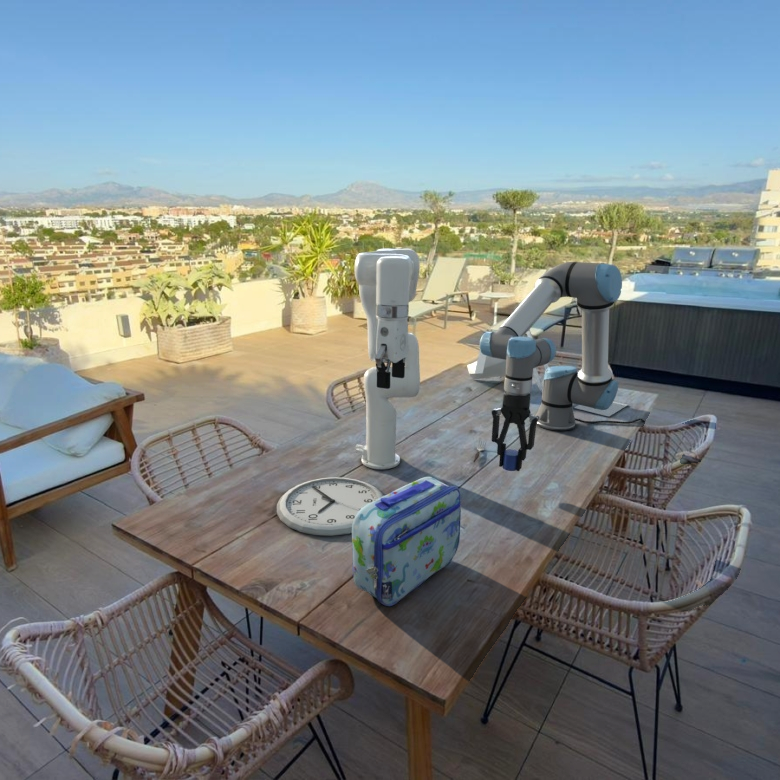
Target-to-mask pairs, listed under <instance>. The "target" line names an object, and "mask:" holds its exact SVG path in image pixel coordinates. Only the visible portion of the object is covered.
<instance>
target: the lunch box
mask: <svg viewBox="0 0 780 780" xmlns="http://www.w3.org/2000/svg"><path fill="white" fill-rule="evenodd" d="M461 499H462V497H461V491H460V489H459V488H458V487H457V486H455V485H450V486H449V485H447V484H445V483H444V482H442V481H440V480H438V479H436V478H434V477H432V476H424V477H421V478H419V479H416V480H414V481H412V482H410V483H407V484H405V485H404V486H401V487H399V488H397V489H395V490H392V491H391V492H390V493H386V494H384V496H383V497H381V498H379V499H377V500H375V501H373V502H371V503H369V504H367V505H365V506H364V507H362V508H361V509H360V510H359V512H358V513H357V515H356V516H355V518H354V521H353V526H352V533H351V550H352V576H353V581H354V584H355V587H356V588H358V589H360V590H362V591H364V592H366V593H368V594H370V596H372V597H374V598H375V599H377V601H378V603H379V604H382V605H383V606H385V607H393V606H394V605H396V604H397V603H399V602H400V601H402V599H404V598H405V597H406V596H407V595H409V594H410V593H411V592H413V591H414V590H415V589H416V588H418V587H419V586H420V585H422V584H423V583H424V582H425V581H427V580H428V579H429V578H430V577H432V575H434V574H435V573H437V572H439V571H441V570H442V569H443V568H445V567H446V566H448V565H449V564H450V562H452V560H453V559H454V557H455V555H456V553H457V551H458V549H459V544H460V537H461V519H462V515H461V513H462V512H461V510H462V507H461V505H462V504H461V503H462V502H461Z"/></svg>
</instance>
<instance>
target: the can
mask: <svg viewBox="0 0 780 780" xmlns="http://www.w3.org/2000/svg"><path fill="white" fill-rule="evenodd" d="M517 458H518V450H516V449H506V450H505V451H504V456H503V466H502V469H503V470H505V471H509V472H515V471H516V468H517ZM516 472H517V471H516Z"/></svg>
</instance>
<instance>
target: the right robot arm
mask: <svg viewBox="0 0 780 780" xmlns="http://www.w3.org/2000/svg"><path fill="white" fill-rule="evenodd" d="M622 289H623V277H622V273H621V270H620V269H619V268H618V267H617V266H616V265H615V264H610V263H609V264H608V263H605V262H599V263H598V262H580V261H579V262H578V261H568V262H567V261H566V262H563V263H560V264H557V265H556V266H554V267H552V268H550V269H548V270H547V271H546V272H544V273H543V274H542V275H541V276H540V277H539V278H538V279H537V280H536V281H535V283H534V285H533V289H532V291H530V293H529V294H528V295H527V296H526V297H525V298H524V299H523V301H522V302H520V304H519V305H518V306H517V308H516V309H515V310H514V311H513V312H512V313H511V314H510V316H508V318H506V320H505V321H504V322H503V324H501V325H500V327H499V328H498V329H497V330H496V331H495V332H494V331H486V332H484V333H483V334H482V335H481V338H480V340H479V350H480V351H481V353H482V354H484V355H486V356H490V357H493V358H499V359H504V360H506V373H505V377H504V383H503V390H504V391H503V393H502V394H503V395H502V405H501V406H500V408H497V407H495V408H493V409H492V410H491V416H492V430H491V442H492V443H495V444H496V445H497V446H496V454H497V455H498V456H499V464H498V467H500V468H503V456H504V451H505V450H507V443H505V440H506V437H507V434H508V431H509V428H510V425H511V424H514V425H516V427H517V430H518V437H519V443H520V447H519V449H518V450H517V451H518V458H517V468H516V472H520V471H521V469H522V466H523V461H525V460H526V459H527V452H528V451H531V450H532V449H533V448H534V446H535V440H536V439H535V438H536V430H537V427H539V428H542V429H544V430H549V431H556V432H567V431H572V430H574V429H575V428H576V421H577V422H580V423H582V424H601V423H602V424H606V423H607V424H621V425H624V424H625V425H627V424H629V425H630V424H634V423H636V422H639V421H641V422H643V423H646V421H645V419H644V418H636V419H633V420H630V421H618V420H593V421H591V420H589V421H588V420H584V419H583V420H582V419H580V418H575V417H576V416H575V413H574V407H573V405H574V404H575V405H583V406H587V407H591V408H594V409H600V410H606V409H608V408H609V407H610V406H611V404H612V403H613V401H614V402H615V399H616V396H617V394H618V391H619V381H618V380H616V379H614V378H613V372H612V370H611V369H609V338H610V337H609V331H610V329H609V328H610V309H611V307H613V306H614V304H615V302H617V301H618V300H619V299H620V297H621V294H622ZM562 298H574V299H576V306H577V307H578V308H579V309H580V310H581V369H579V370H578V368H577V366H572V365H555V366H554V365H553V366H549V368H548V369H546V370H545V371H544V375H543V381H542V382H543V383H542V387H543V391H541V393H542V394H541V402H540V405H539V407H538V409H537V411H536V413H535V415H534V414H532V412H531V410H530V407H531V405H530V404H531V397H532V395H531V392H532V387H533V386H532V385H533V376H534V374H533V368H535V367H536V368H538V367H540V366H544V365H545V364H547V363H548V364H549V363H550V362H552V361H553V360H554V359H555V357H556V354H557V347H556V344H555V343H554V342H553V341H552V340H551V339H549V338H546V337H543V338H542V337H540V338H536V339H535V338H534V337H532V338H529V337H528V336H526V335H527V332H528V331H529V330H530V331H531V328H533V327H534V325H535V324H536V323H537V322H538V320H539V319H540V318H541V316H543V314H544V313H545V312H546V311H547V309H549V307H550V306H551V305H552V304H554V303H556V302H558V301H559V300H560V299H562ZM501 414H502V416H503V418H504V421H503V425H502V428H501V431H500V419H501V418H500V417H501ZM528 418H529V423H530V424H529V432H528V438H527V433H526V428H525V427H526V420H528ZM499 432H500V434H499ZM527 439H528V440H527Z"/></svg>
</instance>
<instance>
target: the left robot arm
mask: <svg viewBox="0 0 780 780" xmlns="http://www.w3.org/2000/svg"><path fill="white" fill-rule="evenodd" d="M420 266H421V263H420V258H419V255H418V253H417V252H416V251H415V250H414V249H410V248H380V249H379V248H378V249H376V250H373V251H366V252H359V253H358V254H357V255H356V257H355V260H354V270H353V271H354V278H355V281H356V283H357V284H358V292H359V299H360V303H361V306H362V308H363V312H364V313H365V316H366V323H367V355H368V358H369V360H370V361H371V362H373V363H375V367H371V368H368V369H366V371H365V372H364V374H363V387H364V396H365V410H366V411H365V416H366V417H365V418H366V419H365V423H366V424H365V426H366V427H365V445H362V444H355V447H354V449H355V453H356V454H360V455H361V454H362V456H361V464H362V465H363V466H364V467H367V468H369V469H372V470H373V469H374V470H389V469H393V468H396V467H397V466H398V465H400V463H401V457H400V455H398V454H397V453H396V448H397V409H396V406H395V405H394V403H393V402H392V401H391V400H390V399H392V398H414V397H416V396H418V395H419V393H420V389H421V388H420V387H421V369H420V346H419V340H418V338H417V336H416V335H415V334H414V333H411V332H409V324H408V323H409V322H408V320H409V309H410V308H409V305H410V303H409V302H412V301H413V300H414V298H415V297H416V293H417V288H418V283H419V276H420V271H421V270H420V268H421V267H420Z"/></svg>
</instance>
